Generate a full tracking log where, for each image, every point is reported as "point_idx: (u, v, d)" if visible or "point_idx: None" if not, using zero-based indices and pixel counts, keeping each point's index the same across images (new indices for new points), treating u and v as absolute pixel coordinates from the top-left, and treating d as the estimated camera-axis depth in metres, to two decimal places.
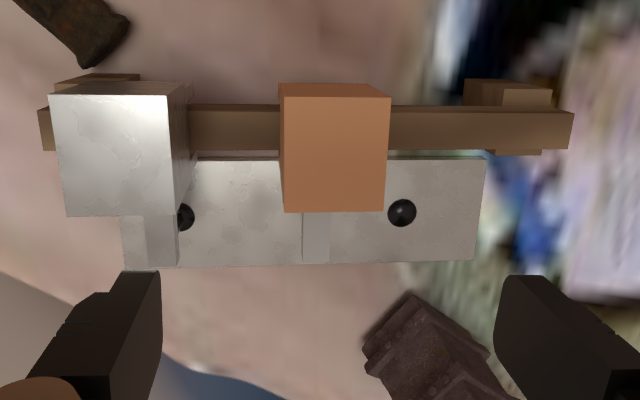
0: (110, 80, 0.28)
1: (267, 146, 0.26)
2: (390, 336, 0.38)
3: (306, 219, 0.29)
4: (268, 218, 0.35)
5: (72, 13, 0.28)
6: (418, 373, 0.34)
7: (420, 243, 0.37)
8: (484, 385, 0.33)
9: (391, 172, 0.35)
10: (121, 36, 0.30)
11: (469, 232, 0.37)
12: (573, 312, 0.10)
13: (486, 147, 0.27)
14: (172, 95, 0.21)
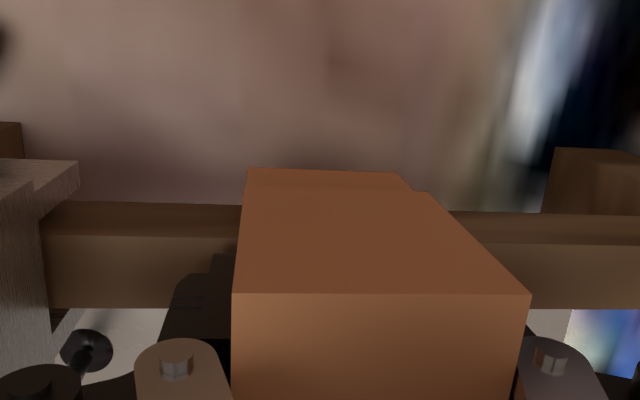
0: None
1: None
2: None
3: None
4: None
5: None
6: None
7: None
8: None
9: None
10: None
11: None
12: None
13: (638, 306, 0.14)
14: None
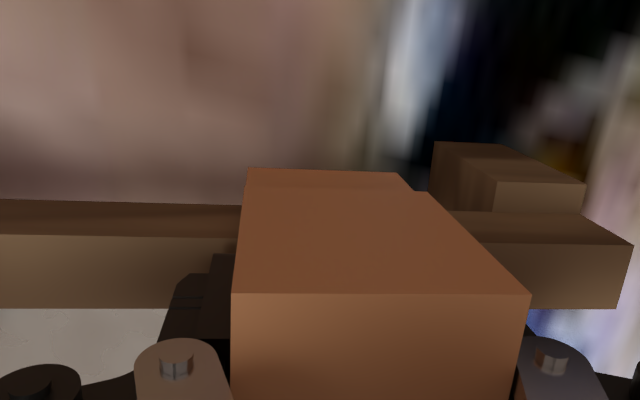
0: None
1: None
2: None
3: None
4: (105, 355, 0.21)
5: None
6: None
7: None
8: None
9: None
10: None
11: None
12: None
13: None
14: None
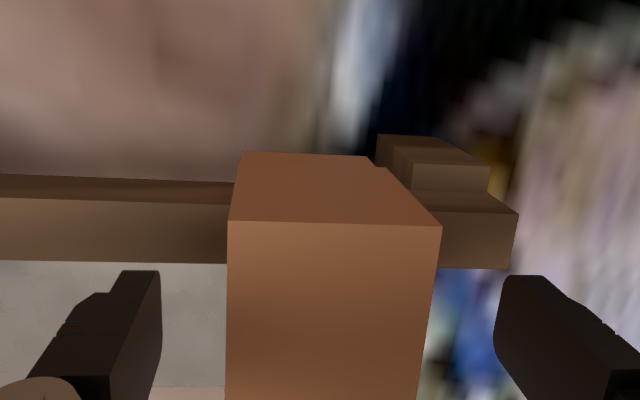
0: None
1: None
2: None
3: None
4: None
5: None
6: None
7: None
8: None
9: None
10: None
11: None
12: (573, 312, 0.10)
13: None
14: None
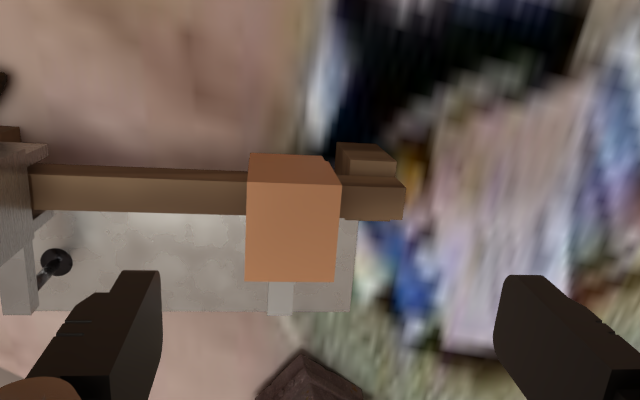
0: None
1: (110, 208, 0.28)
2: (276, 393, 0.40)
3: None
4: (145, 266, 0.37)
5: None
6: None
7: (296, 295, 0.39)
8: None
9: None
10: None
11: (344, 286, 0.39)
12: (573, 312, 0.10)
13: None
14: None
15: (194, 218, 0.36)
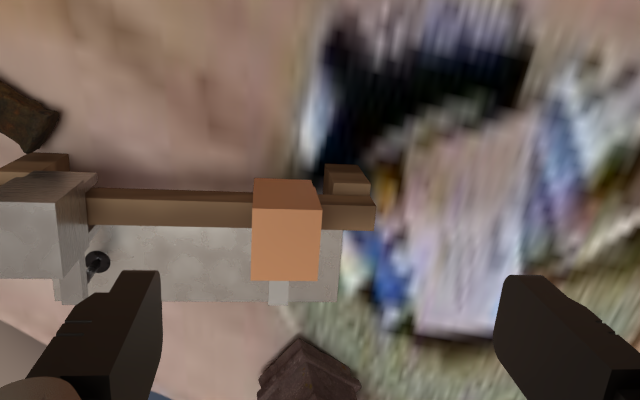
0: (39, 165, 0.38)
1: (146, 223, 0.36)
2: (278, 370, 0.48)
3: None
4: (169, 265, 0.45)
5: (11, 116, 0.37)
6: None
7: (292, 288, 0.47)
8: None
9: None
10: (53, 124, 0.39)
11: (332, 281, 0.47)
12: (573, 312, 0.10)
13: None
14: (63, 198, 0.30)
15: None
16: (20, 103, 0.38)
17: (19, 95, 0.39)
